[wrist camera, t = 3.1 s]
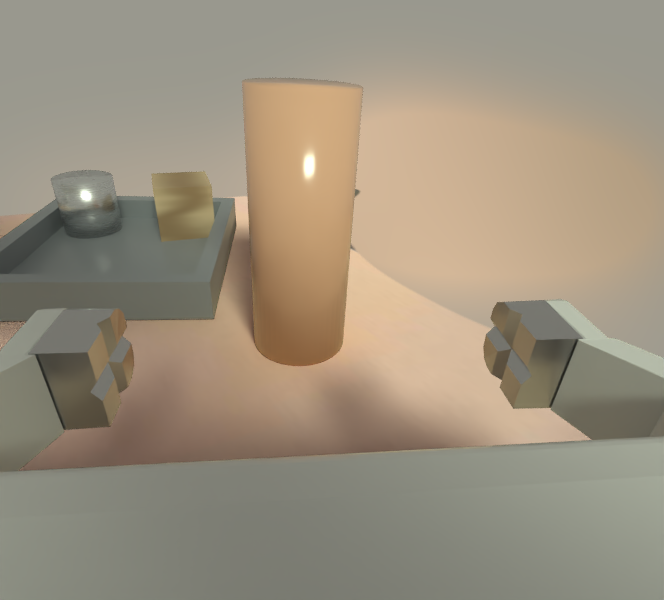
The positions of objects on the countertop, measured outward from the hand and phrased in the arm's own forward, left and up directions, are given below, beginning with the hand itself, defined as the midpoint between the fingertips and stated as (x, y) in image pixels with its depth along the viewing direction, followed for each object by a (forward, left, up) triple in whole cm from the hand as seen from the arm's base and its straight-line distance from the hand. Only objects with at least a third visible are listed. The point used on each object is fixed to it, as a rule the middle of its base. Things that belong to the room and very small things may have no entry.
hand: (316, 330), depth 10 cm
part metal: (-15, +26, -8) cm, 31 cm away
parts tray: (-12, +22, -9) cm, 26 cm away
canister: (0, +12, -9) cm, 15 cm away
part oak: (-8, +26, -8) cm, 28 cm away
